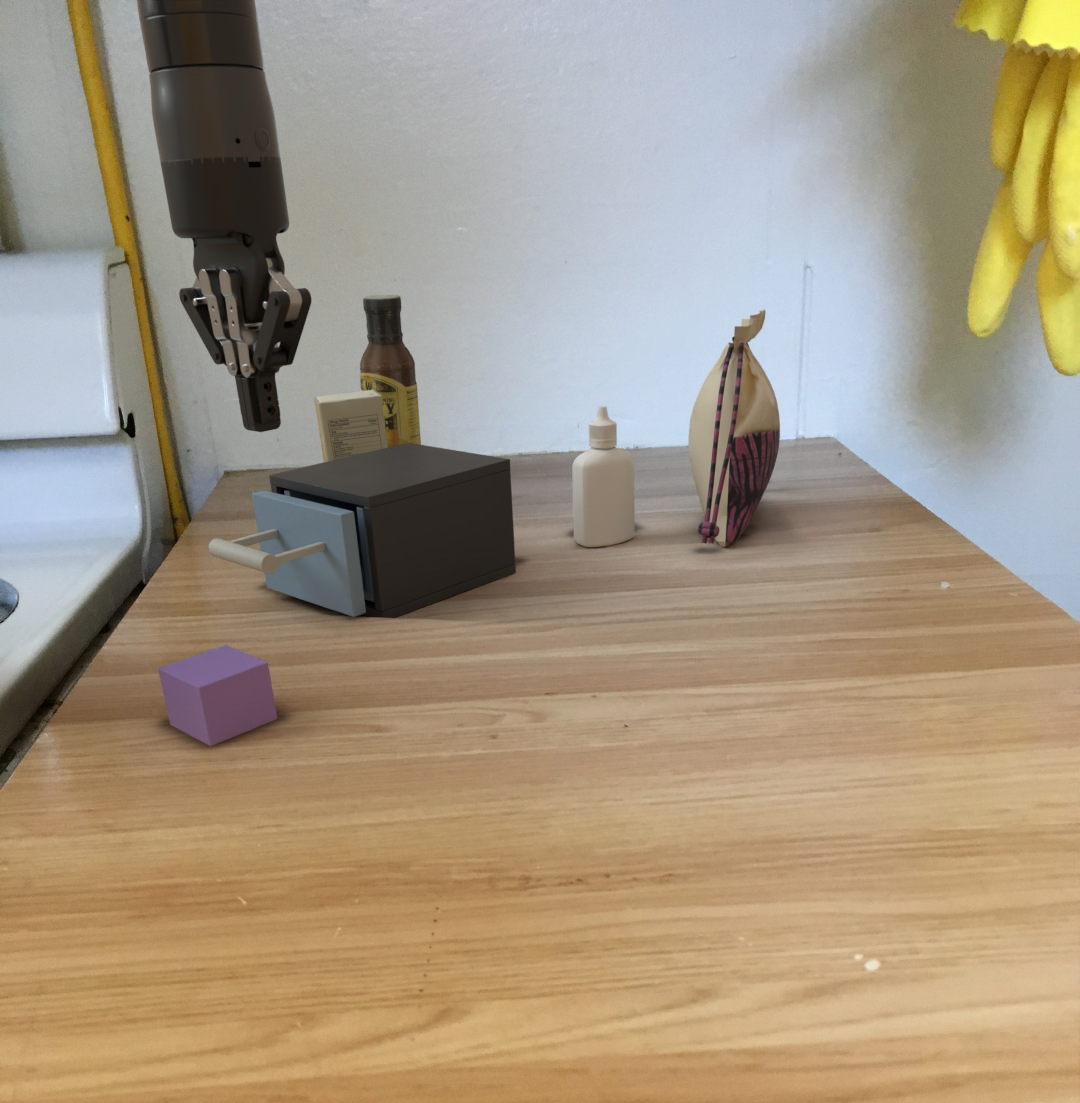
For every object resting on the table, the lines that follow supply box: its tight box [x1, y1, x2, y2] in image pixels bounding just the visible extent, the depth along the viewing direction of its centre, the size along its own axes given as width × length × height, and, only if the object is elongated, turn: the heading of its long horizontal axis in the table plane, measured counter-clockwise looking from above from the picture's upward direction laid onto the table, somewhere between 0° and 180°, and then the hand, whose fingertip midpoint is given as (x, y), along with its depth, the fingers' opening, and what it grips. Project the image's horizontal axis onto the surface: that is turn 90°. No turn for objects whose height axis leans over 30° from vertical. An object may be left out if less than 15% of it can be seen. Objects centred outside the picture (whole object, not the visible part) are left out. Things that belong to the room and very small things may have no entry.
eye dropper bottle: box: [571, 405, 636, 548], centre depth 95 cm, size 4×6×12 cm
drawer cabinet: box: [268, 443, 517, 619], centre depth 87 cm, size 15×13×10 cm
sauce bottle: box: [359, 294, 422, 447], centre depth 118 cm, size 6×6×20 cm
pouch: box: [688, 309, 781, 548], centre depth 97 cm, size 25×8×19 cm, turn 168°
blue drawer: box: [208, 489, 375, 618], centre depth 84 cm, size 19×11×8 cm, turn 137°
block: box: [157, 644, 278, 747], centre depth 63 cm, size 5×5×5 cm
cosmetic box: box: [313, 390, 388, 463], centre depth 106 cm, size 6×4×12 cm
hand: (263, 429), depth 76 cm, fingers closed
